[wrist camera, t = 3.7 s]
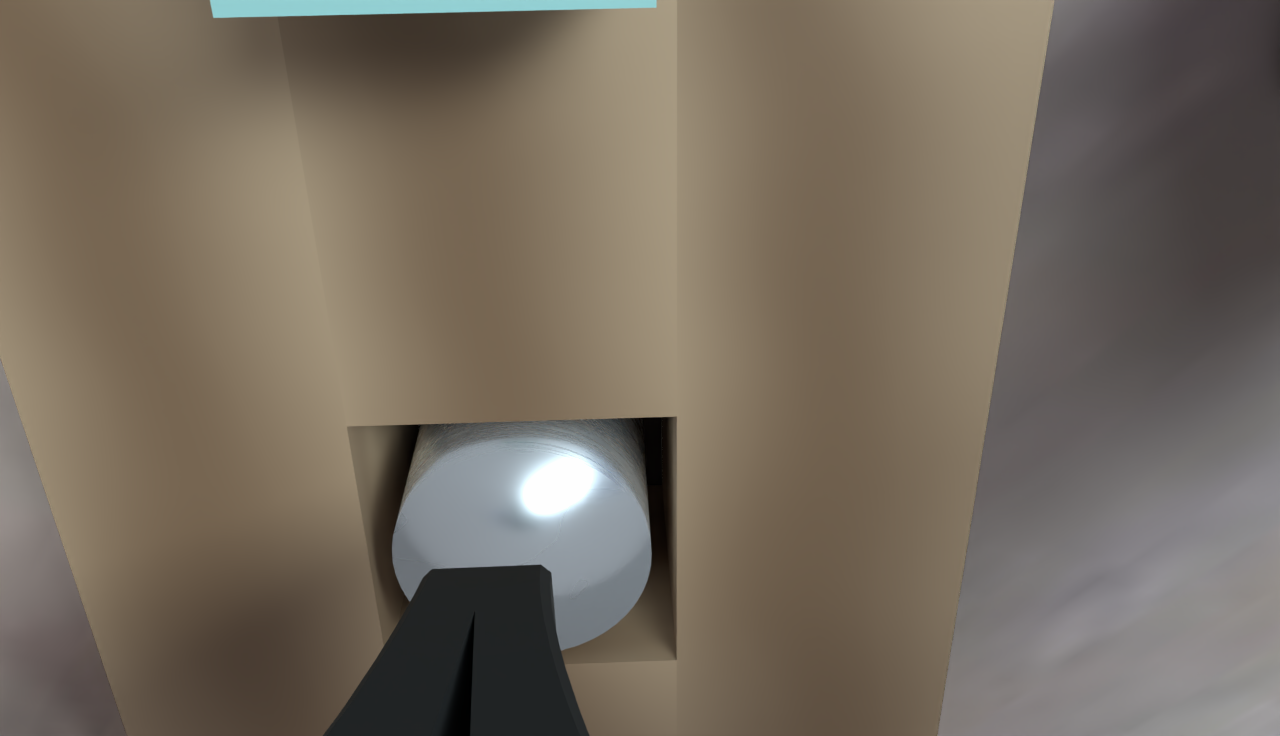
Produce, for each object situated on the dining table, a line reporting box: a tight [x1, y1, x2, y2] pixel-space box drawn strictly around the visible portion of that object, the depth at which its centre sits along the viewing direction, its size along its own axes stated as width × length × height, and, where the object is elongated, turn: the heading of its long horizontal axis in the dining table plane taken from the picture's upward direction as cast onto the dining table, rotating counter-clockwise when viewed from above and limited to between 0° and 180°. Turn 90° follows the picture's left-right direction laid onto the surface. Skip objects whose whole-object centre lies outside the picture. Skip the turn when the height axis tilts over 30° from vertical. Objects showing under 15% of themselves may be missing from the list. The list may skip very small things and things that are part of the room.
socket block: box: [0, 0, 1054, 736], centre depth 17 cm, size 14×22×5 cm, turn 1°
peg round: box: [392, 418, 652, 650], centre depth 20 cm, size 4×4×5 cm
